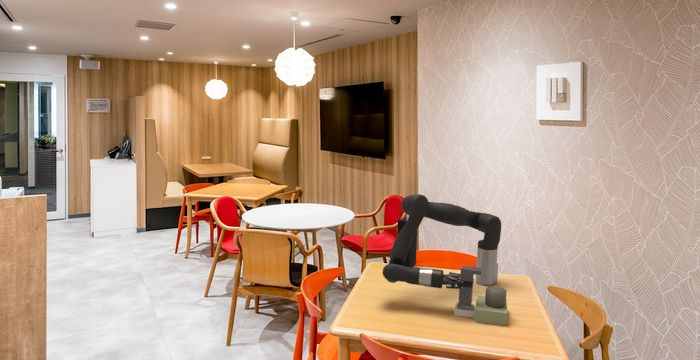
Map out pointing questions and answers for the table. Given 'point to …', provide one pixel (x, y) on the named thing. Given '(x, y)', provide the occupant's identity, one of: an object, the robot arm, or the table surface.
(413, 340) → the table surface
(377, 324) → the table surface
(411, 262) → the black upright block
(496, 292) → the green block with cylinder
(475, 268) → the dark grey angled block
